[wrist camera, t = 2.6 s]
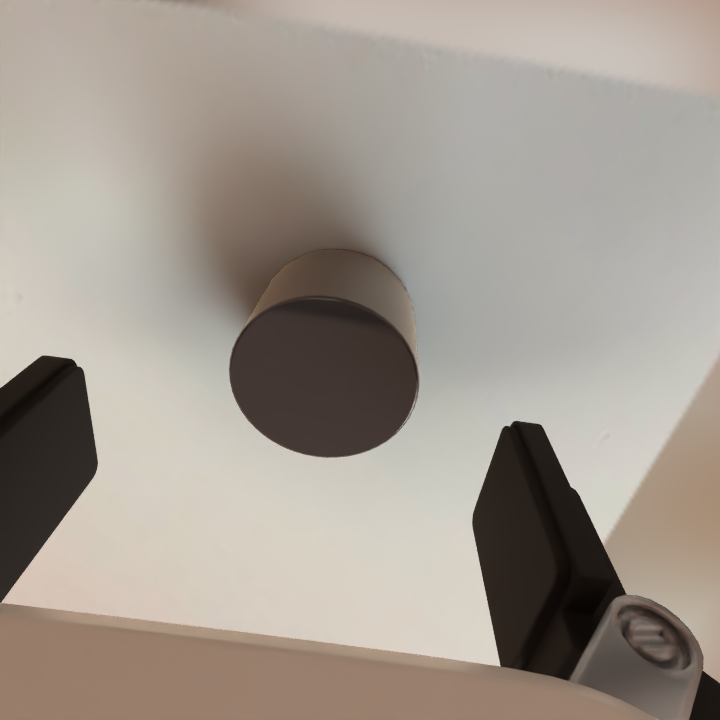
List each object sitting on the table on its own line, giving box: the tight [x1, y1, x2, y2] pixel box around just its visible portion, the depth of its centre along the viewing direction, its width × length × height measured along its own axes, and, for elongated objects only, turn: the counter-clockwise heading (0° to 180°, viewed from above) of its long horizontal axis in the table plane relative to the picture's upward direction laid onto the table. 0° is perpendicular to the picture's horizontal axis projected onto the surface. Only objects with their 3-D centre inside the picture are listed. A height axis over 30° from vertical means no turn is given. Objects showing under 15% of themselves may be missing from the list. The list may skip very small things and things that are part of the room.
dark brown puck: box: [229, 249, 419, 458], centre depth 14 cm, size 5×5×4 cm
